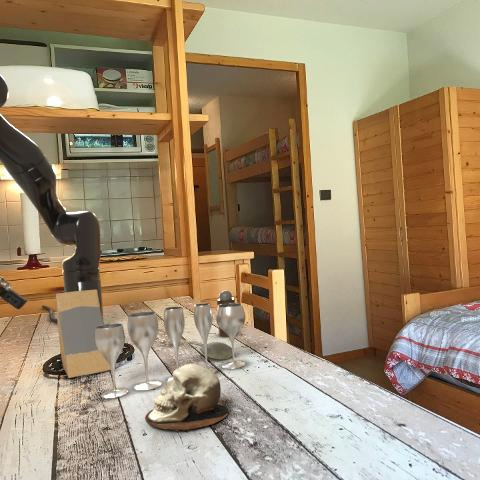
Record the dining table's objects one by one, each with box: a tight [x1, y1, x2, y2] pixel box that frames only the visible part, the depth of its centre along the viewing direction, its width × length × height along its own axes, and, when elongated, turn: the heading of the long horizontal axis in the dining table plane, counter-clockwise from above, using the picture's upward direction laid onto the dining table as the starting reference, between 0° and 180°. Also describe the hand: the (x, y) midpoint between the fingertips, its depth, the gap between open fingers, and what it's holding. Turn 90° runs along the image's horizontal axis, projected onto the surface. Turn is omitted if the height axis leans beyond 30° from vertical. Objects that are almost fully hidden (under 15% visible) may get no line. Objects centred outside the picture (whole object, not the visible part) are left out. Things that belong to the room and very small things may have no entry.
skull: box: [144, 363, 229, 432], centre depth 77 cm, size 12×10×10 cm
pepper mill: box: [216, 289, 236, 338], centre depth 129 cm, size 4×4×11 cm
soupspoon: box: [169, 339, 233, 360], centre depth 115 cm, size 22×3×7 cm
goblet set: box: [95, 302, 247, 400], centre depth 96 cm, size 28×6×13 cm, turn 126°
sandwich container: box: [55, 290, 111, 379], centre depth 108 cm, size 9×15×15 cm, turn 31°
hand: (23, 305), depth 104 cm, fingers closed
